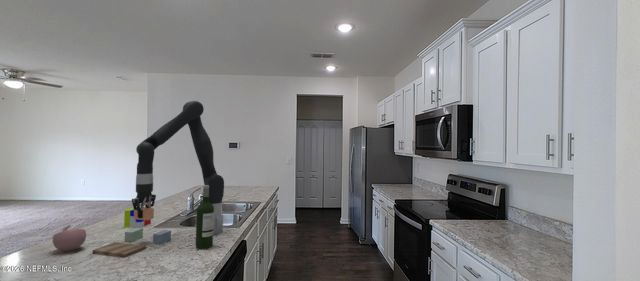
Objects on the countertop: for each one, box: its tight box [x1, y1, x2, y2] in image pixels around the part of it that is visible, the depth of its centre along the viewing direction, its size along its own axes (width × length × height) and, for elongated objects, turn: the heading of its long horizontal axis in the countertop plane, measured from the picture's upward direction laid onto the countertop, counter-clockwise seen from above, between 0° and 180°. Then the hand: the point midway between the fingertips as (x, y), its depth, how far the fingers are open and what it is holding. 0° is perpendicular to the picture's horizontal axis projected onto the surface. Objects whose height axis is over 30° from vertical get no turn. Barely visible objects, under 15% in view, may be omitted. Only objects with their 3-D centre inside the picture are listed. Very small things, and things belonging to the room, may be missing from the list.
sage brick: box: [124, 227, 144, 243], centre depth 161 cm, size 8×4×5 cm, turn 174°
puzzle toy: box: [123, 206, 152, 229], centre depth 188 cm, size 10×10×10 cm
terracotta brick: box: [134, 206, 155, 220], centre depth 155 cm, size 8×4×5 cm, turn 77°
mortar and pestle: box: [52, 224, 87, 252], centre depth 143 cm, size 12×12×12 cm
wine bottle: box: [195, 184, 214, 250], centre depth 154 cm, size 8×8×30 cm
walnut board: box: [92, 242, 147, 259], centre depth 144 cm, size 17×12×2 cm
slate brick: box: [152, 229, 172, 246], centre depth 159 cm, size 8×4×5 cm, turn 167°
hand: (143, 216), depth 155 cm, fingers closed on terracotta brick, 4 cm apart
